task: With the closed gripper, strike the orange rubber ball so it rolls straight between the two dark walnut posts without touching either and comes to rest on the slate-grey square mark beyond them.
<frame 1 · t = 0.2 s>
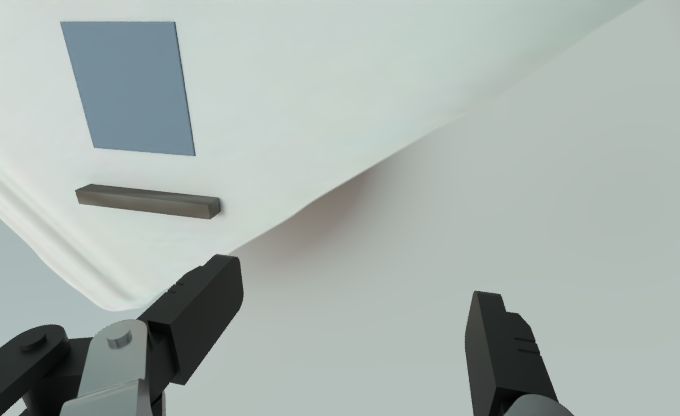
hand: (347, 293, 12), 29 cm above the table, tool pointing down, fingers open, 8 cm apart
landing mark: (130, 91, 43), on the table
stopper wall: (153, 197, 49), on the table
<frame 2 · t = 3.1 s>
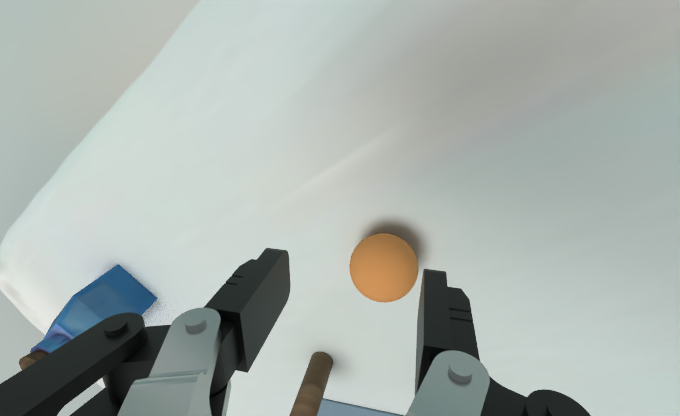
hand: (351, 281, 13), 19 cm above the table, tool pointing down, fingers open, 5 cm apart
perfume bottle: (128, 292, 45), on the table
ball: (383, 267, 31), on the table
post 1: (322, 360, 42), on the table
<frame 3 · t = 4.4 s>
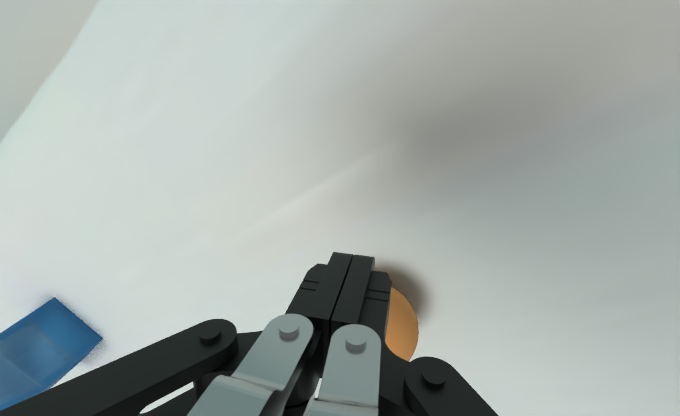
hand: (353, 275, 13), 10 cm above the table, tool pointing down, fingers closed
perfume bottle: (70, 329, 37), on the table
ball: (372, 328, 24), on the table
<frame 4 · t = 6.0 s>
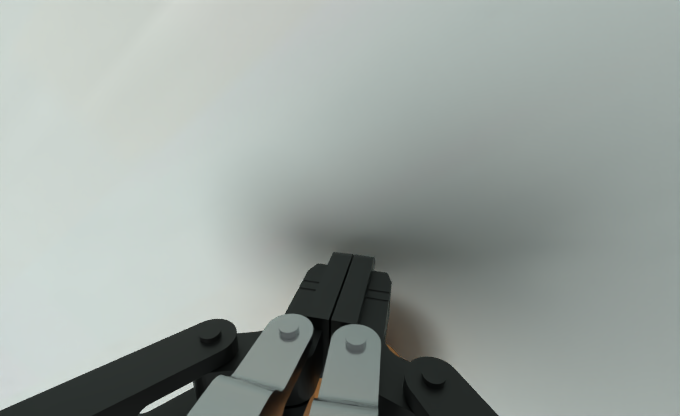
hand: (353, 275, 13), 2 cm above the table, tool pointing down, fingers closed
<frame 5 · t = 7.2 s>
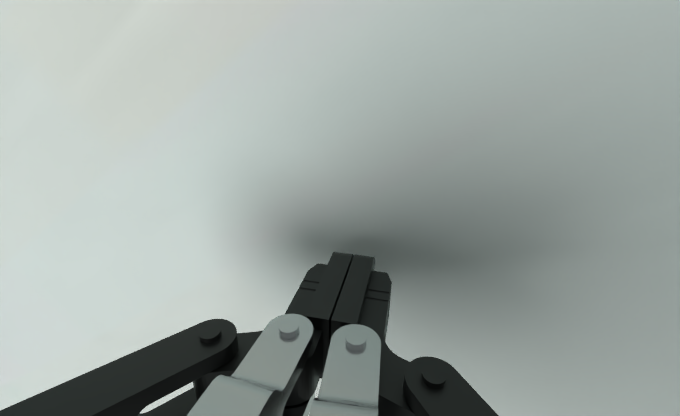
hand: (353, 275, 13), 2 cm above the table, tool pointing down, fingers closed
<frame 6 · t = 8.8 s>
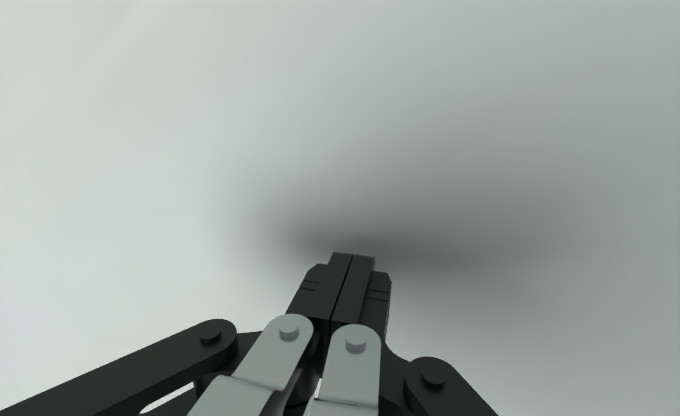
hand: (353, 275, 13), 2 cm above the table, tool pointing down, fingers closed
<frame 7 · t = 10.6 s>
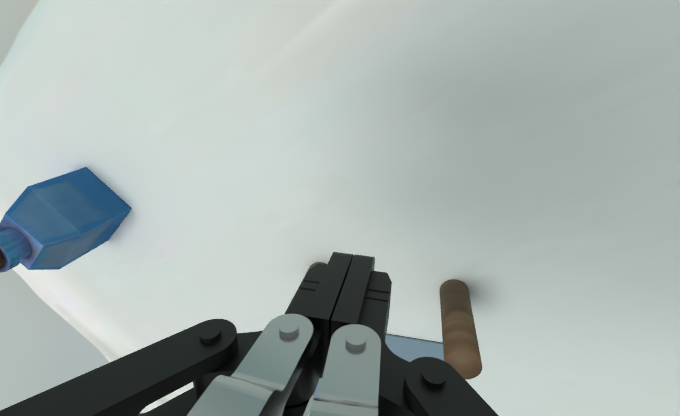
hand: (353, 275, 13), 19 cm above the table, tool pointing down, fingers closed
perfume bottle: (99, 204, 39), on the table
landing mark: (377, 383, 41), on the table
post 2: (453, 291, 34), on the table
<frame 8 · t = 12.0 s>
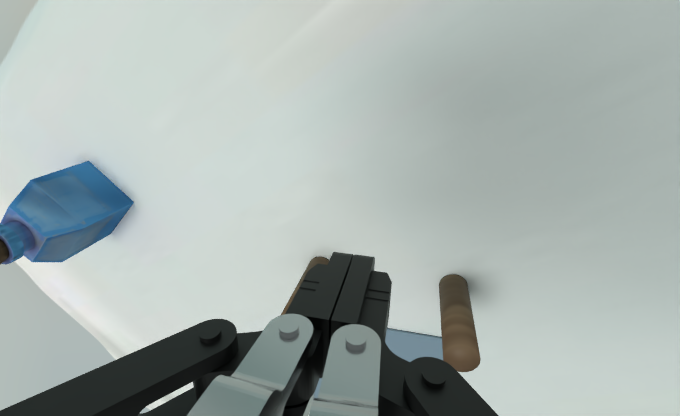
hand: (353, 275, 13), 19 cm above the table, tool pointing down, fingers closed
perfume bottle: (101, 198, 40), on the table
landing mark: (376, 377, 41), on the table
post 2: (453, 285, 34), on the table
post 1: (321, 267, 37), on the table
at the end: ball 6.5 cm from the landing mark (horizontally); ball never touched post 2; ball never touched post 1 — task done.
